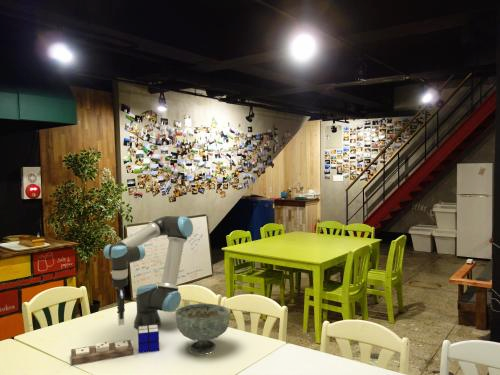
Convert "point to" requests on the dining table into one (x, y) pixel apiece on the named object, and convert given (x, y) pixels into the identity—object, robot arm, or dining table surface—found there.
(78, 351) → the tile one
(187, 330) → the decorative bowl
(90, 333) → the dining table surface
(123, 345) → the tile two
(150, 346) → the puzzle cube
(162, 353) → the dining table surface
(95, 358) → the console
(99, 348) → the tile three
